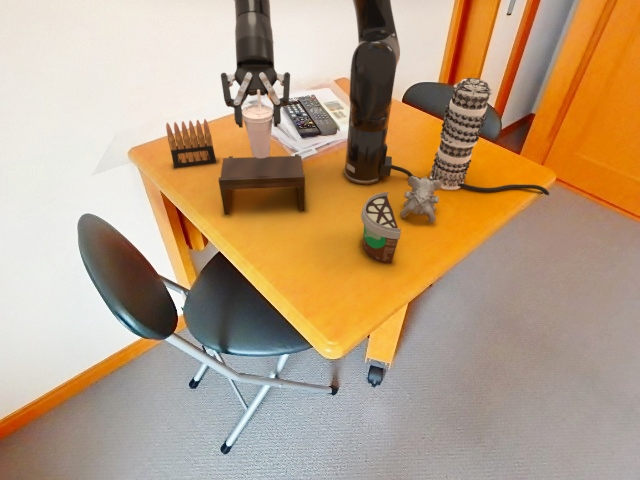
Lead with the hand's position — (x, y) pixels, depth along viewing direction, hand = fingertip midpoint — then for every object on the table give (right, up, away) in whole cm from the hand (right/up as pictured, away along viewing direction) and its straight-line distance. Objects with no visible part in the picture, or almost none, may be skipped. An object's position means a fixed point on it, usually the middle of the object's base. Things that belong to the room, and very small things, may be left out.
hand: (258, 125), depth 80 cm
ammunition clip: (-20, -3, +24) cm, 32 cm away
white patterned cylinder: (+45, -8, +22) cm, 50 cm away
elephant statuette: (+35, -16, +13) cm, 40 cm away
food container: (+23, -25, +3) cm, 34 cm away
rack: (-1, -10, +18) cm, 20 cm away
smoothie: (0, -4, +6) cm, 8 cm away
